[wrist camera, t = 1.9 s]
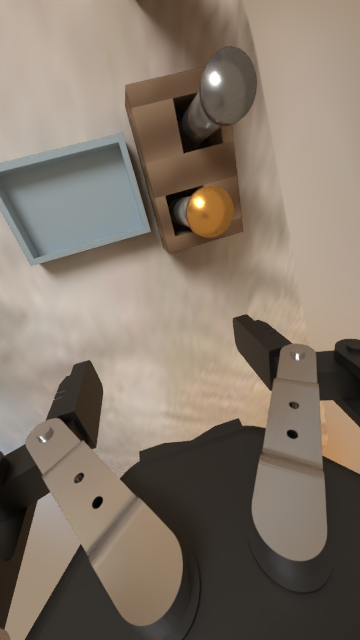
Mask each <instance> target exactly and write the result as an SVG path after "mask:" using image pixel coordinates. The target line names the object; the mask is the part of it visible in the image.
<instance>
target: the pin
mask: <svg viewBox="0 0 360 640" xmlns="http://www.w3.org/2000/svg"><path fill="white" fill-rule="evenodd" d="M256 86H257V80H256V73H255V69H254V66H253V64H252V61H251V60H250V58H249V57H248V55H247V54H246V53H245V52H244V51H242V50H241V49H239V48H237V47H232V46H229V47H224V48H222V49H220V50H218V51H217V52H216V53H215V54H214V55H213V56H212V57H211V59H210V60H209V62H208V64H207V66H206V67H205V69H204V71H203V73H202V76H201V79H200V85H199V92H198V93H197V95H196V96H195V98H194V100H193V101H192V103H191V104H190V106H189V107H188V109H187V110H186V112H185V113H184V115H183V117H182V118H181V120H180V121H179V123H178V128H179V133H180V139H181V144H182V149H183V150H185V151H191V150H193V149H195V148H196V147H197V146H198V145H199V144H201V143H202V142H203V141H204V140H205V139H206V138H208V137H209V136H210V135H211V134H212V133H214V132H215V131H216V130H217V129H218V128H220V127H221V126H230V125H233V124H235V123H236V122H237V121H239V120H240V119H241V118H243V117H244V116H245V115H246V114H247V112H248V111H249V110H250V108H251V106H252V104H253V101H254V98H255V94H256Z"/></svg>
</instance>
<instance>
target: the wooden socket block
mask: <svg viewBox="0 0 360 640" xmlns="http://www.w3.org/2000/svg"><path fill="white" fill-rule="evenodd" d="M204 69H205V67H202V68H197V69H193V70H189V71H184V72H180V73H176V74H171V75H167V76H163V77H158V78H154V79H150V80H145V81H141V82H137V83H132V84H128V85H126V87H125V107H126V111H127V115H128V118H129V122H130V126H131V129H132V133H133V137H134V141H135V144H136V148H137V152H138V155H139V159H140V163H141V167H142V170H143V174H144V178H145V181H146V185H147V189H148V192H149V196H150V200H151V204H152V207H153V211H154V215H155V218H156V222H157V226H158V230H159V233H160V237H161V241H162V244H163V248H164V249H165V250H166V251H167V252H168V253H173V252H176V251H179V250H183V249H186V248H189V247H193V246H196V245H199V244H203V243H206V242H209V241H213V240H216V239H219V238H223V237H226V236H229V235H233V234H236V233H240V232H243V225H242V216H241V207H240V197H239V188H238V179H237V169H236V160H235V151H234V142H233V132H232V125H230V126H221V127H220V128H218V129H217V130H216V131H215V132H214V133H212V134H211V135H210V136H209V137H208V138H206V140H207V146H208V147H206V148H203V149H199V150H195V151H191V152H187V153H184V154H183V149H182V144H181V139H180V133H179V128H178V123H177V118H176V113H179V112H183V111H186V110H187V109H188V107H189V106H190V104H191V103H192V101H193V100H194V98H195V96H196V95H197V93H198V92H199V85H200V79H201V76H202V73H203V71H204ZM206 186H218V187H220V188H222V189H224V190H225V191H226V192H227V193H228V194H229V196H230V197H231V200H232V203H233V218H232V221H231V223H230V225H229V227H228V228H227V229H226V231H224V232H223V233H222V234H221V235H219V236H217V237H213V238H206V237H202V236H200V235H197V234H196V233H194V232H193V231H192V230H191V229H190V227H188V228H184V229H181V230H178V231H174V230H173V226H172V222H171V217H170V213H169V209H168V205H167V201H166V197H165V196H166V195H170V194H174V193H177V192H181V191H185V190H188V189H192V191H193V193H194V192H195V191H197V190H198V189H200V188H203V187H206Z"/></svg>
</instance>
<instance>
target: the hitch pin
mask: <svg viewBox="0 0 360 640" xmlns="http://www.w3.org/2000/svg"><path fill="white" fill-rule="evenodd" d="M169 213H170V217H171V220H172V221H173V222H174V223H177V224H180V225H184V226H188V227H190V229H191V230H192V231H193V232H194V233H196V234H197V235H200V236H202V237H206V238H213V237H217V236H219V235H221V234H222V233H223V232H224V231H226V229H227V228H228V227H229V225H230V223H231V221H232V218H233V203H232V200H231V197H230V196H229V194H228V193H227V192H226V191H225V190H224V189H222V188H220V187H218V186H206V187H203V188H200V189H198V190H197V191H195V192H194V193H193V194H192V196H189V197H183V198H178V199H175V200H173V201H172V202H171V204H170V206H169Z"/></svg>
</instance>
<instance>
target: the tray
mask: <svg viewBox="0 0 360 640" xmlns="http://www.w3.org/2000/svg"><path fill="white" fill-rule="evenodd" d="M0 211H1V212H2V214H3V216H4V218H5V220H6V222H7V223H8V225H9V227H10V229H11V231H12V232H13V234H14V236H15V238H16V240H17V241H18V243H19V245H20V247H21V249H22V250H23V252H24V254H25V256H26V258H27V260H28V261H29V263H30V265H31V266H33V265H37V264H40V263H44V262H47V261H50V260H54V259H57V258H61V257H64V256H68V255H71V254H75V253H78V252H82V251H85V250H89V249H92V248H96V247H99V246H103V245H106V244H109V243H113V242H116V241H120V240H123V239H127V238H130V237H134V236H137V235H141V234H144V233H148V232H151V230H150V227H149V223H148V220H147V216H146V213H145V209H144V206H143V202H142V199H141V195H140V192H139V188H138V185H137V181H136V178H135V174H134V171H133V167H132V164H131V160H130V157H129V153H128V150H127V146H126V143H125V139H124V136H123V133H119V134H115V135H111V136H107V137H103V138H99V139H95V140H91V141H87V142H83V143H79V144H75V145H71V146H67V147H63V148H59V149H55V150H51V151H47V152H43V153H39V154H34V155H30V156H26V157H22V158H18V159H14V160H10V161H6V162H2V163H0Z"/></svg>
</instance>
